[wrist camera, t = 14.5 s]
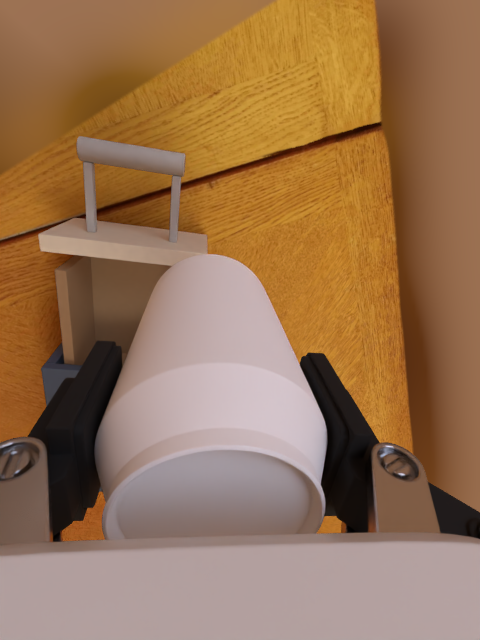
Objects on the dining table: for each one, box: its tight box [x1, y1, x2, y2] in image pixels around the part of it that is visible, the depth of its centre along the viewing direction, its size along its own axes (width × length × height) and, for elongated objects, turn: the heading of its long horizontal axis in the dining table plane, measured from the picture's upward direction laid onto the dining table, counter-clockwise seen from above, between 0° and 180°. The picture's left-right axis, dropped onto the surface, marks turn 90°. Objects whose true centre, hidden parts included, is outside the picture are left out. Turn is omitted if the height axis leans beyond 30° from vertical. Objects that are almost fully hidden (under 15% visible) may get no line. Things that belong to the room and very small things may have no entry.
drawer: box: [38, 136, 208, 367], centre depth 27 cm, size 20×11×7 cm, turn 172°
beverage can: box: [94, 254, 328, 540], centre depth 12 cm, size 6×6×12 cm
